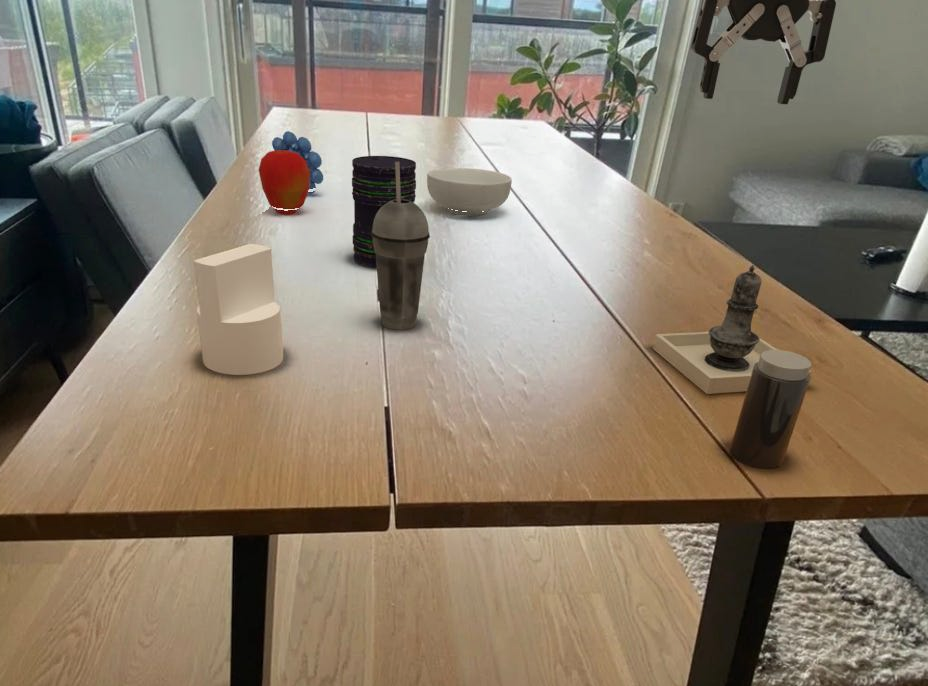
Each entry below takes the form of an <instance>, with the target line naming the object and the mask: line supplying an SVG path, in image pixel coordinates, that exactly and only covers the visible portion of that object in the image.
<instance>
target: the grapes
mask: <svg viewBox="0 0 928 686" xmlns="http://www.w3.org/2000/svg"><path fill="white" fill-rule="evenodd" d="M271 146H272V148H273V151H275V150H282V146H283V150H286V151H292V152H295V153H298V154H299V155H300V156H301V157H302V158H303V159H304V160H305V161H306V163H307V166H308V168H309V171H310V184H309V189H313V188H316V189H317V185H320V184H321V183H323V182H324V174H323V172H322V171H321V170H320V169H319V168H320V167H321V166H322V164H323V163H322V162H323V161H322V157H321V156H320V154H319V153H318V152H316V151H312V144H311V141H310V140H309V139H308V138H307V137H304V136H300V137H297V136H296V134H295V133H294V132H292V131H290V130H289V131H288V130H287V131H284V133H283V135H282V138H281V137H280V136H279V137H278V136H275V137H274V138H273V139H272V141H271ZM316 184H317V185H316ZM315 192H316V191H313V192H308V193H307V195H313V194H315Z"/></svg>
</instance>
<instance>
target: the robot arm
mask: <svg viewBox="0 0 928 686" xmlns="http://www.w3.org/2000/svg"><path fill="white" fill-rule="evenodd" d="M725 7H727V9H728V13H729V16H730V18H731V20H732V21H731V23H730V24H729V25H728V26H727V27H726V28H725V29H724V30H723V31H722V33H721V34H720V35H719V37H718V38H717V39H716V40H715V42H713V43H712V45H709V44H708V39H709V36H710V33H711V28H712V25H713V21H714V18H715V17H718V16H719V15H720V14H721V12H722V10H723V8H725ZM836 7H837V1H836V0H701V5H700V9H699V12H698V16H697V21H696V25H695V27H694V33H693V36H692V40H691V46H690V50H691V52H692V53H694V54H696V55H698V56H700V57H701V58H702V59H703V61H704V63H703V69H702V73H701V78H700V83H699V90H700V93H703V98H704V99H708V100H713V98H714V95H715V90H716V85H717V80H718V75H719V71H720V66H721V62H720V61H719V60H720V59H721V57H723V55H724V54H725V53H726V52H727V51H728V50H729V49H730V48H731V47H732V46H734V44H736V43H737V42H738V40H739V39H740V38H741V39H743V40H746V41H758V40H762V41H764V42H777V41H779V43H780V46H781V48H782V49H783V50H784V53H785V55H786V58H787V60H788V66H785V67H784V71H783V77H782V80H781V84H780V88H779V91H778V96H777V104H779V105H788V104H789V102H790V100H793V99H794V98H795V97H796V95H797V93H798V92H797V91H798V88H799V85H800V80H801V76H802V73H803V70H804V68H805V67H807V65H808V66H809V65H810V64H814V63H820V62H822V61H823V60H824V59H825V56H826V51H827V48H828V42H829V38H830V34H831V29H832V25H833V20H834V15H835V11H836ZM807 12H808V13H809V20H810V21H811V22H812V23H813V24H812V30H811V32H810V33H811V34H810V38H809V42H808V43H809V44H808V47H807V50H806V51H804V48H803V47H802V41H801V38H800V35H799V33H798V30H797V28H796V24H797V23H798V22H799V21H800V20H801V18H802V17H803V16H804V15H805V14H806V13H807Z"/></svg>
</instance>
